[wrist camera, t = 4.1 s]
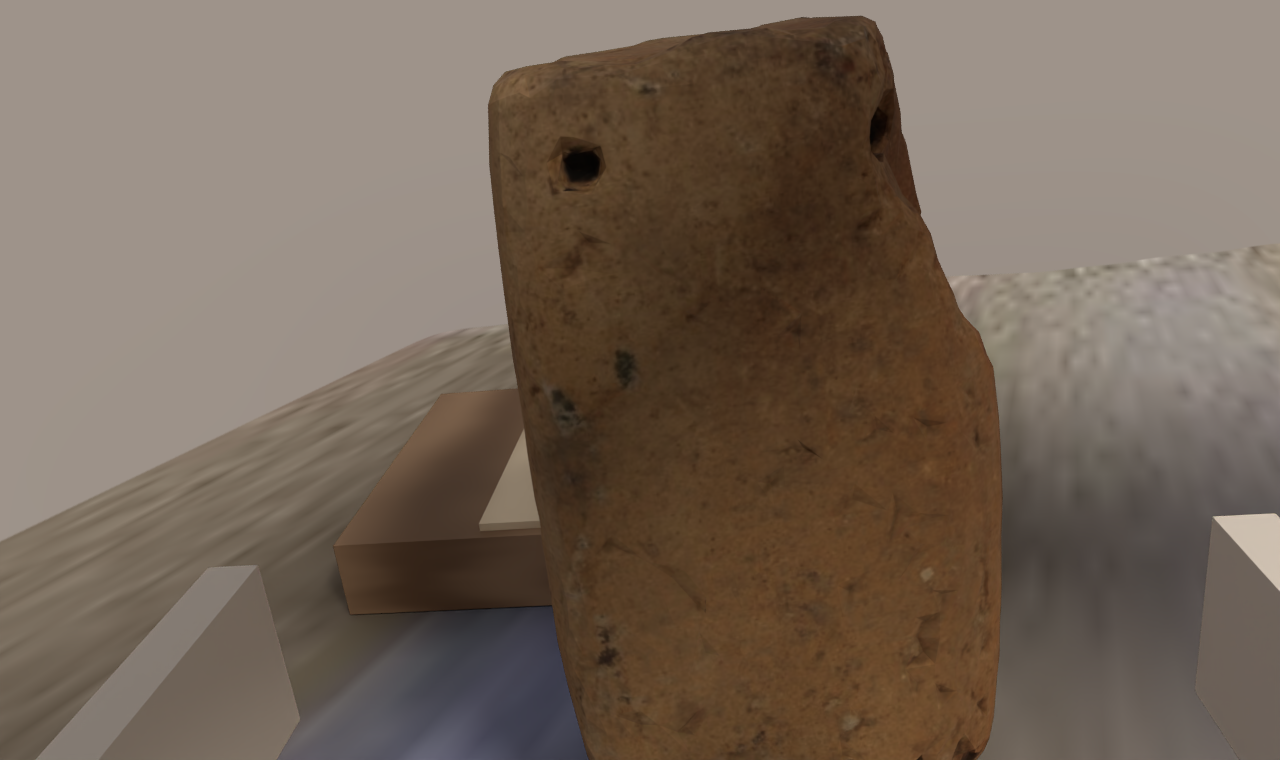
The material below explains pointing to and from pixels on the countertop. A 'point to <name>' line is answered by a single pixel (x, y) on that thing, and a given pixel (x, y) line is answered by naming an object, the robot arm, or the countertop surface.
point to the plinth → (450, 517)
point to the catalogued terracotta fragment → (748, 402)
